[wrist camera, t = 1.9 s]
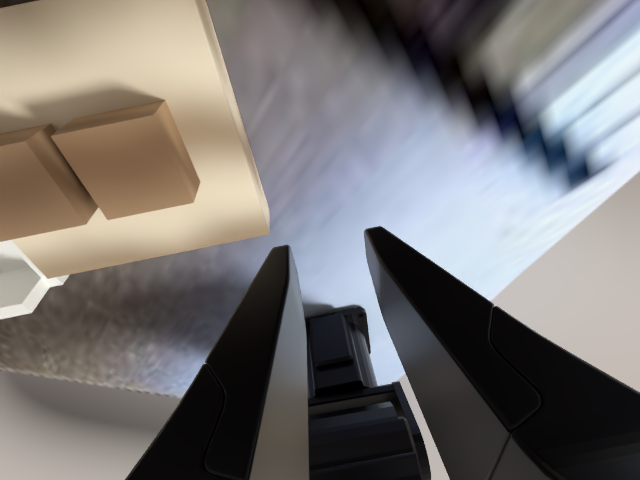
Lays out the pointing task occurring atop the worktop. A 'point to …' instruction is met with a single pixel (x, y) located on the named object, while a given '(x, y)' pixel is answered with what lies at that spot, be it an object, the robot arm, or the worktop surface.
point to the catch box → (21, 282)
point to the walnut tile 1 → (38, 186)
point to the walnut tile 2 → (130, 159)
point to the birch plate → (123, 92)
